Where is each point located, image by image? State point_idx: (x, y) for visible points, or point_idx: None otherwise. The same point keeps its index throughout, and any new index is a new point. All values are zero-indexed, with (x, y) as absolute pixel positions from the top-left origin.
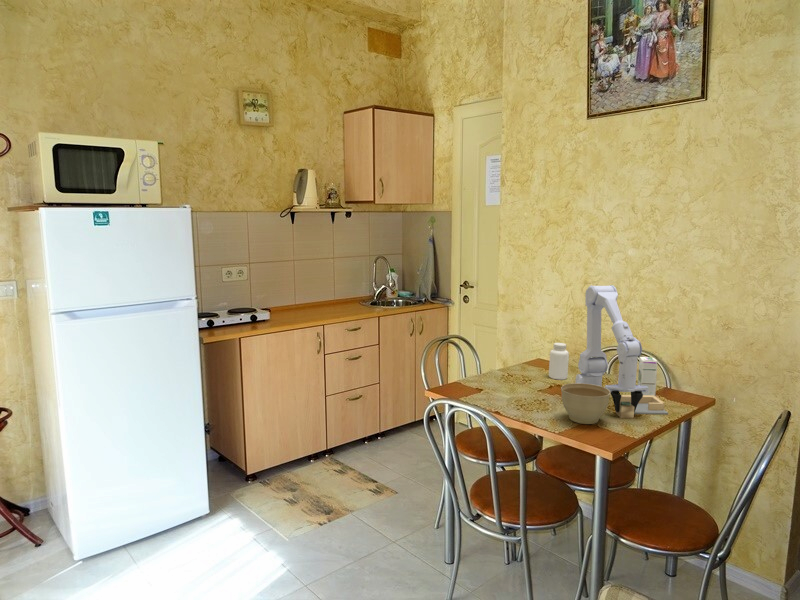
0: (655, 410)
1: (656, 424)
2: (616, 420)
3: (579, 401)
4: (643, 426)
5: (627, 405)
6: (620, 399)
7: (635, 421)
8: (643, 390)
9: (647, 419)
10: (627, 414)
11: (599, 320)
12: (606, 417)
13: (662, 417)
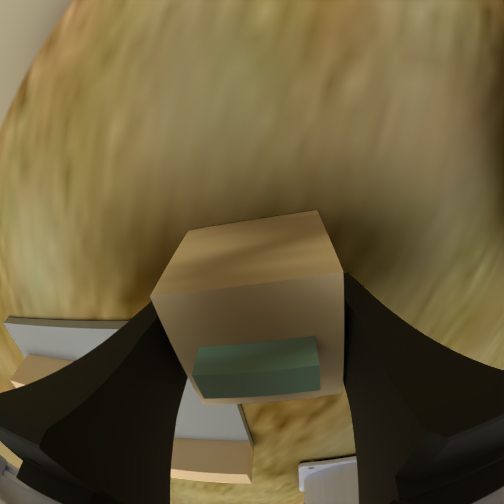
0: (53, 356)
1: (39, 109)
2: (384, 133)
3: None
4: (148, 11)
5: (236, 335)
6: (390, 374)
7: (189, 129)
8: (10, 482)
9: (82, 212)
10: (249, 235)
11: None
12: (441, 209)
13: (15, 271)
